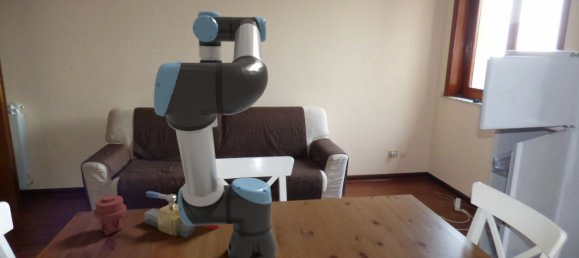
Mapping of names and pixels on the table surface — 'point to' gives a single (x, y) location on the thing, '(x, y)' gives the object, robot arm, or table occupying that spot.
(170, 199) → the lever
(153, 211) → the pipe
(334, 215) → the table surface
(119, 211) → the mechanical component
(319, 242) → the table surface
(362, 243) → the table surface
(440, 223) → the table surface
